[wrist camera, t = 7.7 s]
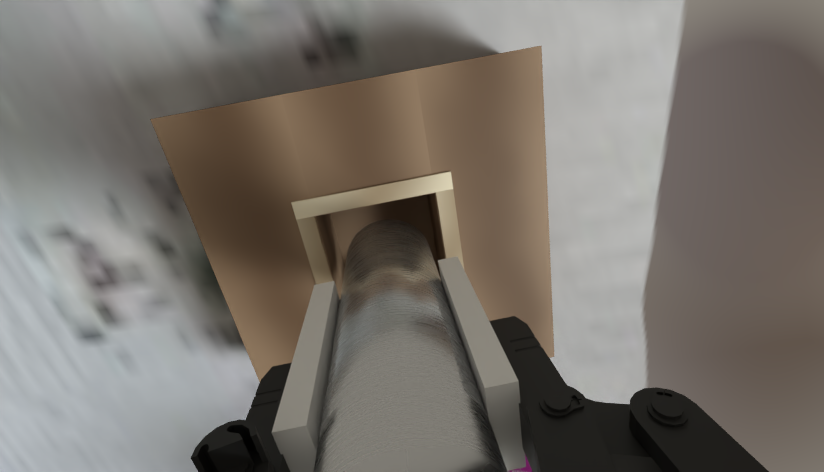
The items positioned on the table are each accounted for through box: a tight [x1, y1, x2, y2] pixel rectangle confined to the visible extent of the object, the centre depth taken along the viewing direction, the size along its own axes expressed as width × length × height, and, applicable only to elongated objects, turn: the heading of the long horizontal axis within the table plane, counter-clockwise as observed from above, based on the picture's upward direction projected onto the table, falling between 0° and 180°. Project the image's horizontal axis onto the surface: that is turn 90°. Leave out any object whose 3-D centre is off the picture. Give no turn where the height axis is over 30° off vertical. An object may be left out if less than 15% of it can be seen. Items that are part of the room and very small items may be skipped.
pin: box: [314, 219, 507, 472], centre depth 13 cm, size 4×4×12 cm
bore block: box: [150, 46, 554, 381], centre depth 21 cm, size 16×16×5 cm
